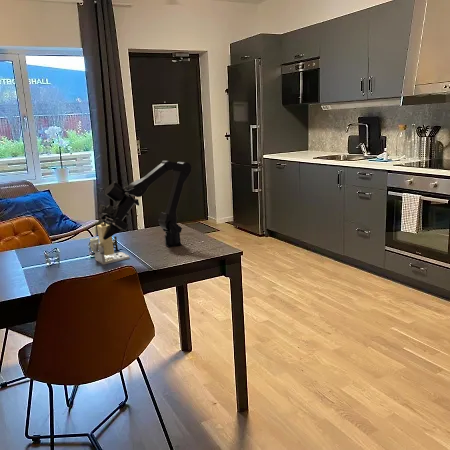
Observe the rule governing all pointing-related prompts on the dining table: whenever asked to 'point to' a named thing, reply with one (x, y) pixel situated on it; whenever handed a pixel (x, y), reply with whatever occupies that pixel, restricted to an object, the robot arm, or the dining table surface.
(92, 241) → the valve
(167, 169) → the robot arm
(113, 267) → the dining table surface
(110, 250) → the loose leaf
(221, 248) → the dining table surface
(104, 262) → the fixed leaf
